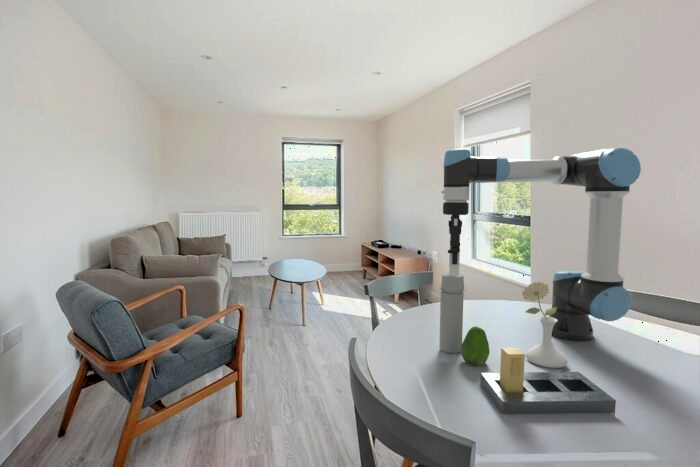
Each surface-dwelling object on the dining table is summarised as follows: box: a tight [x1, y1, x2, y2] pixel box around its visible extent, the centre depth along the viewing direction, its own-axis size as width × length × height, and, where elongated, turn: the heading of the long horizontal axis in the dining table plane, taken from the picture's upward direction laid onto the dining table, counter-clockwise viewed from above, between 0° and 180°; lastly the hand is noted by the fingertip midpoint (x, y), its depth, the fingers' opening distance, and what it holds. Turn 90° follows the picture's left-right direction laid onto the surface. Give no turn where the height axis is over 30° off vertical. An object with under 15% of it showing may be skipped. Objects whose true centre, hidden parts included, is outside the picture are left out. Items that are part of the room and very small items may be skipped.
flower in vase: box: [522, 281, 569, 369], centre depth 114 cm, size 13×11×25 cm
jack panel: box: [480, 371, 617, 417], centre depth 94 cm, size 26×14×4 cm, turn 91°
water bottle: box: [439, 272, 466, 355], centre depth 125 cm, size 9×8×25 cm
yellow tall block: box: [499, 346, 526, 392], centre depth 93 cm, size 4×5×12 cm
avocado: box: [460, 326, 491, 367], centre depth 113 cm, size 8×8×12 cm
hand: (453, 270), depth 118 cm, fingers open, 13 cm apart
